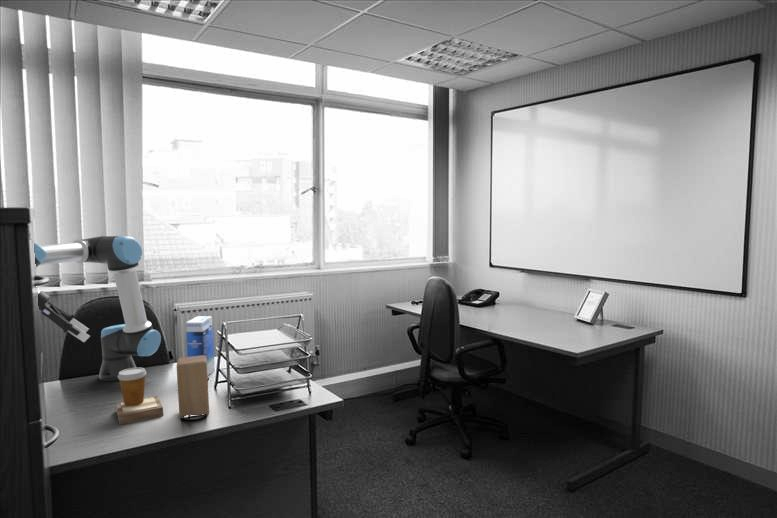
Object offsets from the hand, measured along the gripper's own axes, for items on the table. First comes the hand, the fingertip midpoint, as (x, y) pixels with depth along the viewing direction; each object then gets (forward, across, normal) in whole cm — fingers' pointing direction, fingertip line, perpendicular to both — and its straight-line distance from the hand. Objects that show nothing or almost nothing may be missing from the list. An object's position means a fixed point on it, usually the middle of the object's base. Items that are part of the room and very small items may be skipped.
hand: (86, 335), depth 179 cm
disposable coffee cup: (+28, +5, -9) cm, 30 cm away
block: (+44, +19, +1) cm, 47 cm away
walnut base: (+31, +8, -11) cm, 34 cm away
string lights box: (+52, -25, +10) cm, 59 cm away
